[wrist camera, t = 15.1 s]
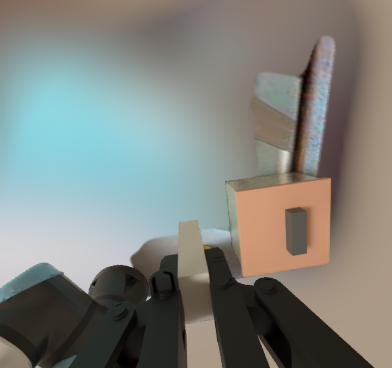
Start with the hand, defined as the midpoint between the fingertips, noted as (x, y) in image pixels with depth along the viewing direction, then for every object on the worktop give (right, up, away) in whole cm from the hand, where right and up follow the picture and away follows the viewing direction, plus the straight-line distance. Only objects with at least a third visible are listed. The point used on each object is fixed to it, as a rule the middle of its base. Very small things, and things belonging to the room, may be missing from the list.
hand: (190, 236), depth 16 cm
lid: (+19, -5, +26) cm, 33 cm away
